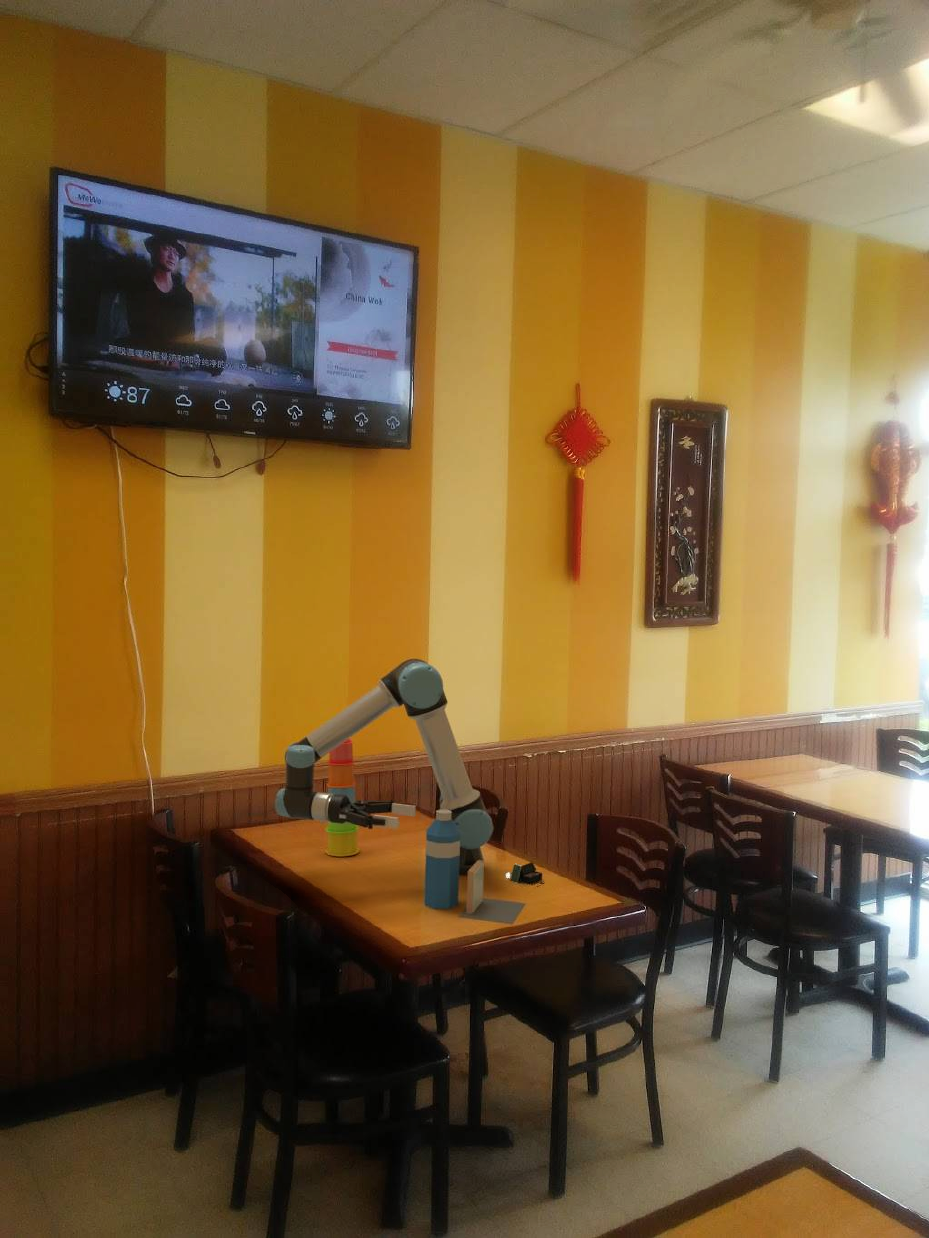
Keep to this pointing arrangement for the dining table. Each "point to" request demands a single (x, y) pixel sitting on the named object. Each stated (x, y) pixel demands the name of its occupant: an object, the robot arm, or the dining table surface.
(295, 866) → the dining table surface
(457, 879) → the water bottle
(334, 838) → the stacking cups
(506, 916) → the mat
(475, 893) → the tile
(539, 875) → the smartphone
